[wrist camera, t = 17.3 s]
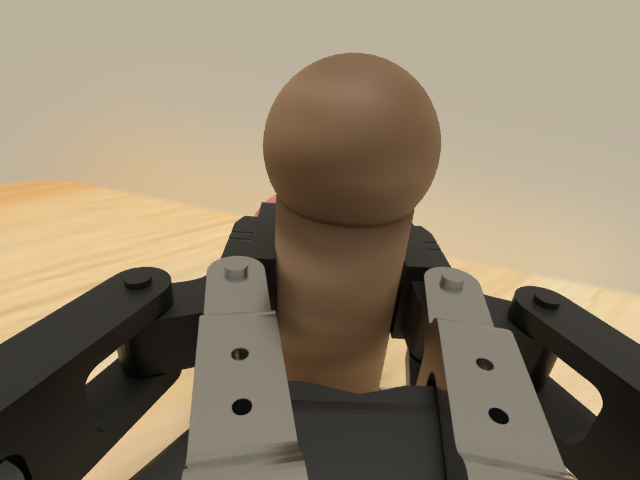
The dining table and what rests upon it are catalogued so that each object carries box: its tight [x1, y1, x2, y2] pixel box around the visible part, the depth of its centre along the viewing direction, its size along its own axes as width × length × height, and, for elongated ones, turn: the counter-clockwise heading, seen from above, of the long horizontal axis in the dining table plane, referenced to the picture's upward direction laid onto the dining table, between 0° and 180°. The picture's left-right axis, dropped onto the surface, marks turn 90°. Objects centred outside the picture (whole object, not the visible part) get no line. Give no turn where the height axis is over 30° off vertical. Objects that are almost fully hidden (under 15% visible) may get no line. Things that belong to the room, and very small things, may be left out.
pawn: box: [263, 53, 441, 394], centre depth 11 cm, size 5×5×12 cm
